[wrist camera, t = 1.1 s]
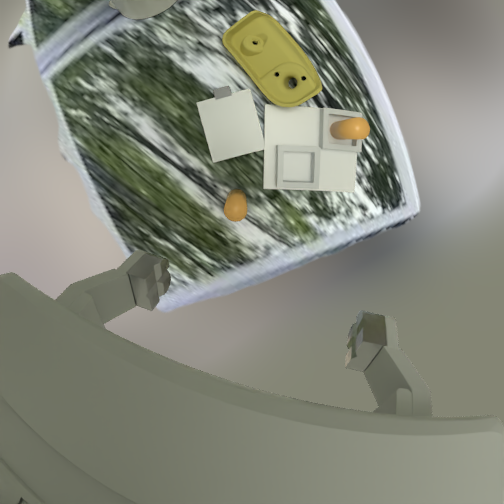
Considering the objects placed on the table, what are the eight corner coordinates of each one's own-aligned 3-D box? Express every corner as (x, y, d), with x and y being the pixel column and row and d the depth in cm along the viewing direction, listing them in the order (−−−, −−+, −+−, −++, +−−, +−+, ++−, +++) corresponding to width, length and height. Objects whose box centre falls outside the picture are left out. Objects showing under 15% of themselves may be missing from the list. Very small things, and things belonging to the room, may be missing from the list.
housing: (264, 105, 45) (270, 94, 35) (355, 113, 46) (381, 108, 36) (263, 188, 51) (268, 199, 41) (352, 191, 52) (376, 203, 42)
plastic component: (217, 38, 38) (258, 6, 32) (234, 43, 43) (272, 15, 38) (280, 117, 43) (328, 87, 37) (290, 114, 49) (332, 89, 43)
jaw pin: (227, 189, 51) (223, 199, 42) (246, 189, 51) (247, 198, 42) (227, 207, 52) (224, 221, 43) (246, 207, 52) (247, 221, 43)
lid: (195, 96, 44) (194, 95, 43) (247, 82, 43) (247, 81, 42) (213, 162, 49) (213, 162, 48) (266, 148, 48) (266, 148, 47)
